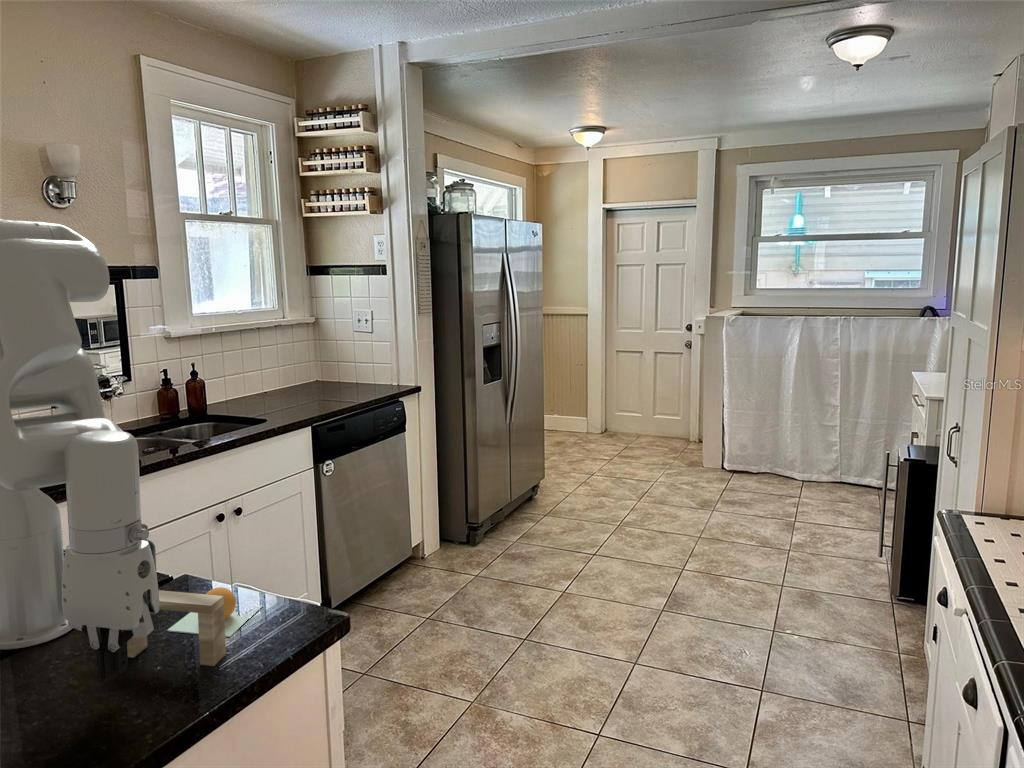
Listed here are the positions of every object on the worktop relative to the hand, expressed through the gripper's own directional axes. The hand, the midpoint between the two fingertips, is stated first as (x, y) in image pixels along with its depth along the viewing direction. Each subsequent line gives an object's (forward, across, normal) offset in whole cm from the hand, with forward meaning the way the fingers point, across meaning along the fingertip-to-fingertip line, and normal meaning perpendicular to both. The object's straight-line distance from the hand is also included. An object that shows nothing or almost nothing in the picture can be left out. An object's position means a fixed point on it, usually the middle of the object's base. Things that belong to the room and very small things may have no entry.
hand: (113, 674), depth 87 cm
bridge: (+4, -1, -10) cm, 11 cm away
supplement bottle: (+5, +16, -25) cm, 30 cm away
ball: (+1, -1, -21) cm, 21 cm away
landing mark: (+4, -1, -22) cm, 22 cm away
